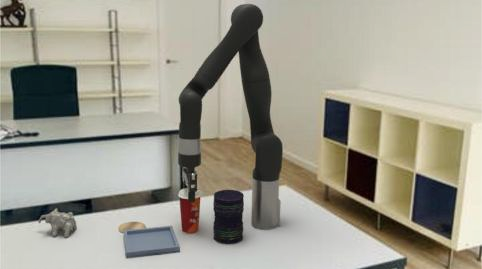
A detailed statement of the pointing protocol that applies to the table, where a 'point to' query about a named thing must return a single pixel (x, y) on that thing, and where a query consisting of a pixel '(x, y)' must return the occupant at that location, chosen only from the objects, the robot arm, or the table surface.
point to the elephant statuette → (60, 222)
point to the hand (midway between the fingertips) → (189, 197)
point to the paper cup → (189, 211)
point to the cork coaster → (131, 226)
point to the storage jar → (228, 216)
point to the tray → (150, 241)
